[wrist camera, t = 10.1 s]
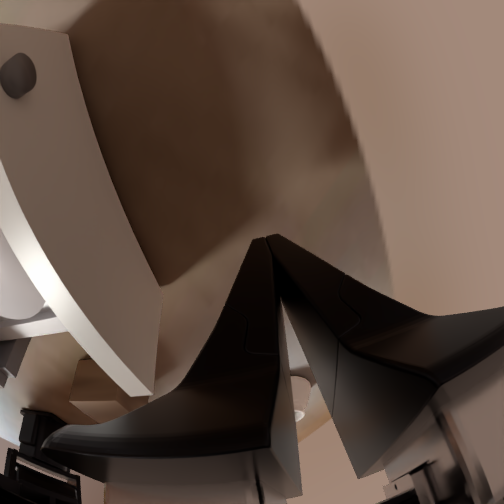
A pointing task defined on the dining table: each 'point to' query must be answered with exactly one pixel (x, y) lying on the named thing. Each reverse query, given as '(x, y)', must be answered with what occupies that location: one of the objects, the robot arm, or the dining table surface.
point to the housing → (11, 357)
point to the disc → (16, 286)
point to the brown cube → (101, 394)
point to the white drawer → (70, 215)
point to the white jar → (300, 395)
